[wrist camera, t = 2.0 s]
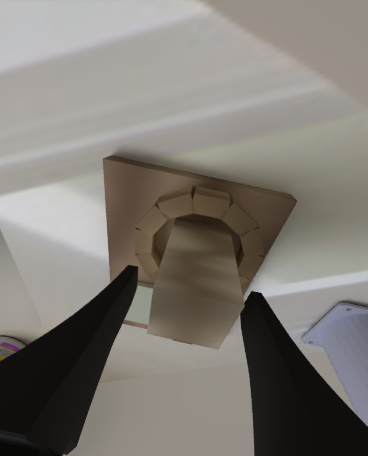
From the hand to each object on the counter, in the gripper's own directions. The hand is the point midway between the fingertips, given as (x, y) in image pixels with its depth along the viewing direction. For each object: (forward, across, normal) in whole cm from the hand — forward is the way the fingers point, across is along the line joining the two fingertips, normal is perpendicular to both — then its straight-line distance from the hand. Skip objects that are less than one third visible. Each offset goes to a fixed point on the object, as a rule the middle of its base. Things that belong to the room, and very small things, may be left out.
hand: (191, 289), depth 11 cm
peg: (+5, 0, 0) cm, 5 cm away
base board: (+6, +1, +5) cm, 8 cm away
